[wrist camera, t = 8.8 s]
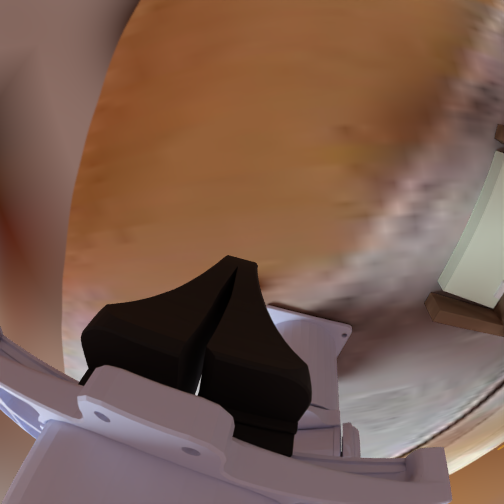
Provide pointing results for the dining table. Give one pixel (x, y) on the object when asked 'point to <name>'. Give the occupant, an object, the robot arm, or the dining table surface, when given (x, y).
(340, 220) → the dining table surface
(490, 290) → the door
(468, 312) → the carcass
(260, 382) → the robot arm
